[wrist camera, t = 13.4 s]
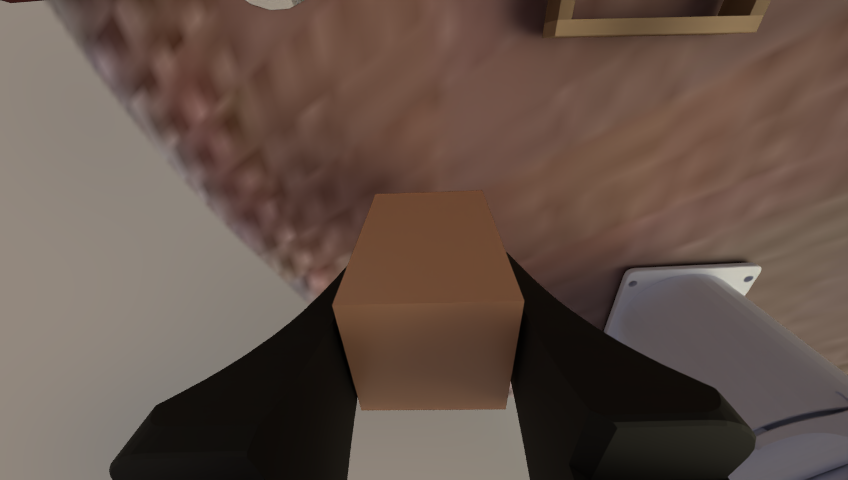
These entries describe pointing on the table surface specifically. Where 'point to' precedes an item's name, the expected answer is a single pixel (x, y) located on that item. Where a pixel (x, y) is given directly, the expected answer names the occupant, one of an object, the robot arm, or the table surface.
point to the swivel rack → (654, 22)
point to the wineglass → (264, 0)
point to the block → (429, 305)
